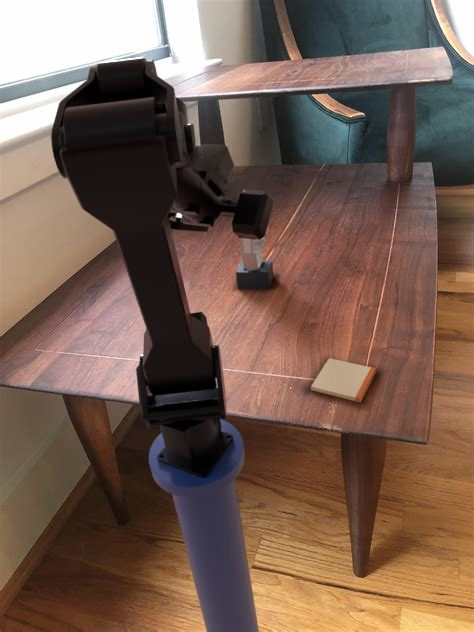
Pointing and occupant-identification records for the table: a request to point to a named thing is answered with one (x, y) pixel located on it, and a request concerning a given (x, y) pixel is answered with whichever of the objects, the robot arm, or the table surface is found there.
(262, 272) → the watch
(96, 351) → the table surface
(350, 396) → the mat
